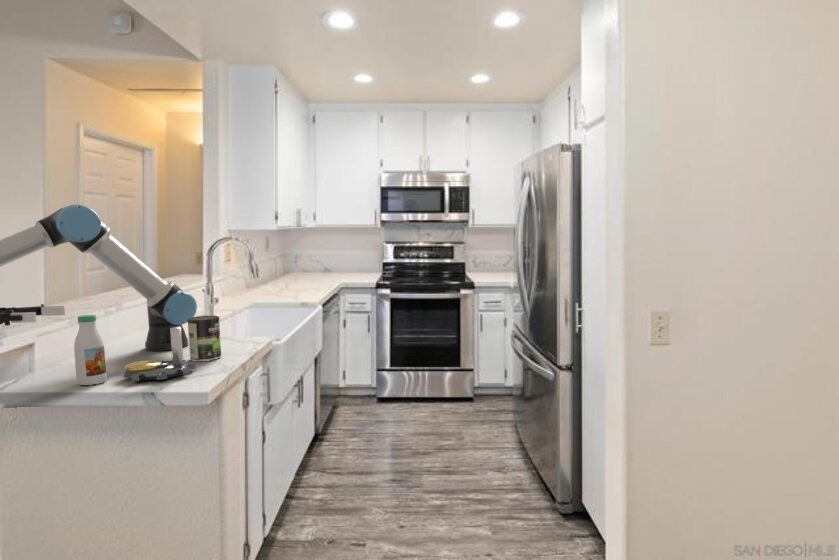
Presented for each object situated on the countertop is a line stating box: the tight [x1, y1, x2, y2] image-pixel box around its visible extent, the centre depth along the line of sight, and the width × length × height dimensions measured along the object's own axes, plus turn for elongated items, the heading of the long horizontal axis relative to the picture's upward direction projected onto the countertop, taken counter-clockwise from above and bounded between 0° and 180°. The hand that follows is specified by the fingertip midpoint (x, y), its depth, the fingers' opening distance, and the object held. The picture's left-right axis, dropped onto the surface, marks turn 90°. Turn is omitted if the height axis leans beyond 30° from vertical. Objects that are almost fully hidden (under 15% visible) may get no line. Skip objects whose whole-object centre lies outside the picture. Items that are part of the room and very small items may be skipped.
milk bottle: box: [73, 314, 108, 386], centre depth 173 cm, size 8×8×20 cm
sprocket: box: [123, 327, 196, 382], centre depth 180 cm, size 20×20×14 cm
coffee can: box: [187, 315, 223, 362], centre depth 202 cm, size 10×10×14 cm
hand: (50, 313), depth 172 cm, fingers open, 13 cm apart
